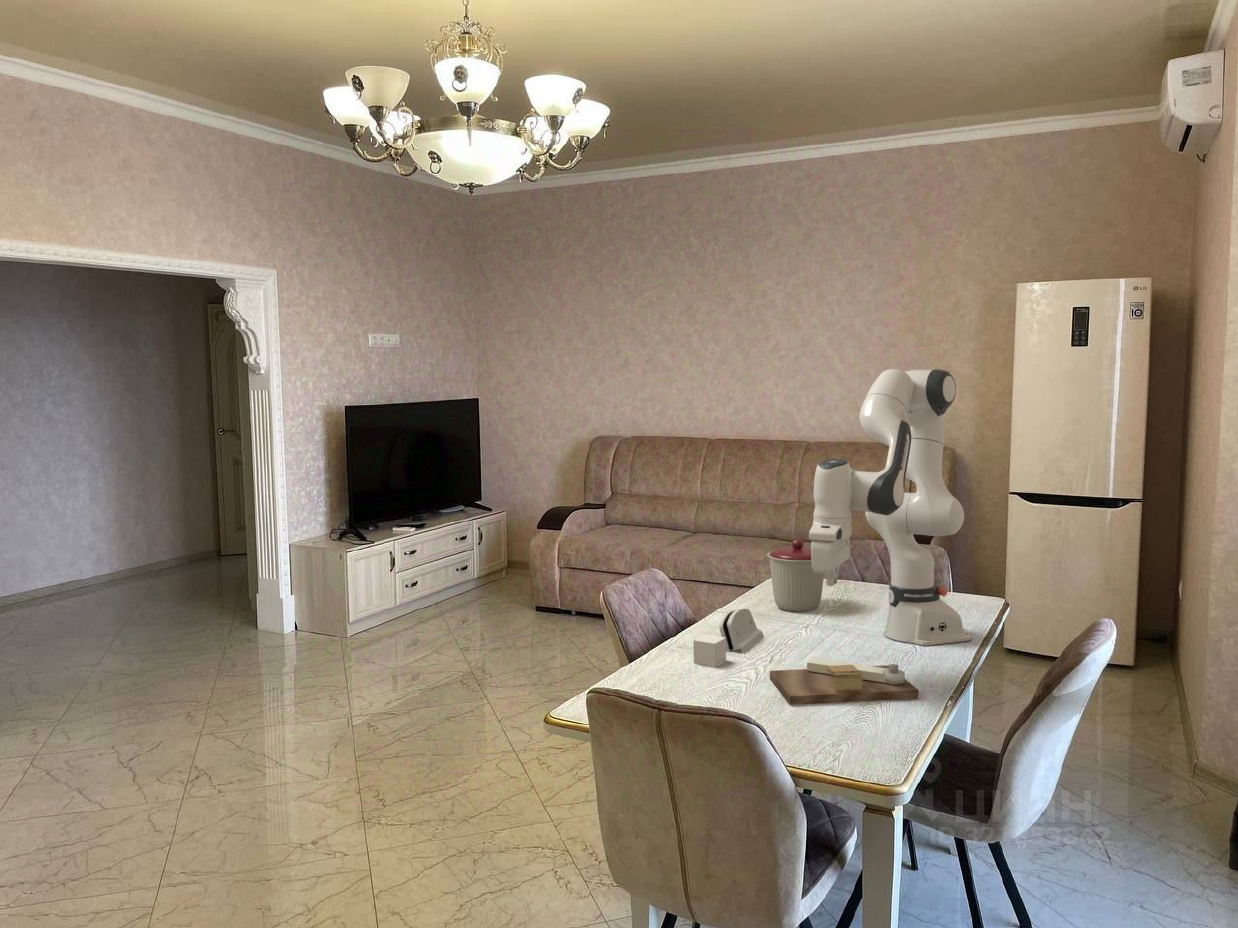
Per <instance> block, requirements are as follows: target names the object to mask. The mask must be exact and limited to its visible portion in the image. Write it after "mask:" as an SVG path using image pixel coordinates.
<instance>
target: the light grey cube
mask: <svg viewBox="0 0 1238 928" xmlns="http://www.w3.org/2000/svg"><path fill="white" fill-rule="evenodd" d="M726 661H727V652H726V638H725V637H722V636H719V635H711V634H706V633H705V634H702V635H701V636H699V637H697V638H694V640H693V664H696V665H702V666H707V667H712V668H716V667H718V666H719V665H722V664H723V663H725V662H726Z"/></svg>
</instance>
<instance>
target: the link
mask: <svg viewBox="0 0 1238 928" xmlns="http://www.w3.org/2000/svg"><path fill="white" fill-rule="evenodd" d="M836 665H854V666H855V667H856V668H857V669H858V670H859V671H860V672H861V673H862V679H864V680H871V681H877V682H884V683H888V684H893V685H899V684H903V683H904V682H905V679H906V678H905V677H906V673H905V671H903V670H900V669H899V665H898V664H896V663H895V664H894V663H890V664H888V665H889V669H887V668H880V667H873V666H874V665H866V664H858V663H853V662H852V663H851V662H844V661H838V660H831V659H825V658H818V657H811V658H810V659H809V660H808V661H807V662H806V669H807V671H813V672H819V673H826V674H830V673H829V672H828V671H827V666H836Z"/></svg>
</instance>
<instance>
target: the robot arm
mask: <svg viewBox="0 0 1238 928" xmlns="http://www.w3.org/2000/svg"><path fill="white" fill-rule="evenodd" d="M956 393H957V384H956V380H955V378H954V377H953V375H952V374H951V373H950V372H949V371H947V370H944V369H938V368H934V369H911V370H905V371H903V370H901V369H896V368H890V369H886V370H884V371H882V372H881V373H880V374H879V375H878V376H877V378H876V379H875V381H874V382H873V383H872V385H871V387H870V389H869V390H868V392H867V394H866V396H865V399H864V401H863V403H862V405H861V408H860V411H859V417H858V418H859V423H860V426H861V428H862V430H863V431H864V432H865V433H866V434H867V436H869V437H871V438H872V440H875V441H877V442H880V443H882V444H883V445H886V446H888V447H889V448H888V452H887V457H886V463H885V467H884V469H882V470H881V471H877V472H875V471H874V472H873V471H861V470H855V469H854V468H851V465H850V463H849V461H848V460H846V459H844V458H830V459H829V458H828V459H825V460H822V461H820V462H819V463H817V466H816V468H815V471H814V472H815V474H814V480H813V499H814V500H813V501H814V504H815V505H814V510H813V519H812V526H811V527H810V530H809V532H808V539H809V540H810V541H811V543H810V547H811V559H812V568H813V571H814V573H820V574H824V576H825V578H826V581H825V582H826V586H828V587H833V586H835V585H836V584H837V583H838V576H839V570H840V565H842V564H843V563H845V562H846V561H847V560H849V559H850V556H851V543H850V542H851V541H850V537H851V536H852V511H855V512H856V511H858V512H865V513H864V515H865V517H866V520H867V523H868V524H869V525H870V527H871V528H873V529H874V530H875V531H876V532H877V533H878V534H879V535H880V537H881V538H882V540H883V541H884V543H885V545H886V547H887V550H888V554H889V559H890V582H889V584H888V604H889V609H888V615H887V621H886V625H885V629H884V630H883V634H884V636H885V637H887V638H889V639H891V640H894V641H898V642H903V643H911V644H915V645H918V646H933V645H934V646H935V645H936V646H937V645H942V644H950V643H951V644H952V643H960V642H969V641H972V639H973V637H972V633H970V631H968V630H967V629H966V628H964V627H963V626H964V625H963V621H962V617H961V615H960V614H959V612H958V611H956V610H955V609H954V608H953V607H952V606H950V605H949V604H948V603H946V602H945V600H942V598H941V597H946V596H947V595H948V593H949V592H948V590H947V589H946V588H944V587H939V586H937V585H935V559H934V556H933V555H932V554H931V552H929V550H927V549H926V548H924V547H923V546H921V545H919V543H918V542H917V541H916V539H915V537H914V535H918V536H919V535H921V536H931V537H932V536H933V537H942V536H944V537H945V536H952V535H955V534H957V533H958V531H959V530H960V529H961V528H962V526H963V524H964V521H965V520H964V519H965V512H964V508H963V505H962V504H961V502H960V500H958V499H957V498H956V497H954V495H952V494H951V492H950V491H949V490H948V488H947V486H946V484H945V481H944V477H943V456H944V455H943V453H944V444H945V435H946V434H945V417H944V416H945V415H944V414H945V413H946V412H947V410H948V408H950V406H951V405H952V404H953V402H954V400H955V398H956ZM906 479H907V480H910V481H912V482H913V483H915V486H916V492H905V483H906V482H905V481H906Z"/></svg>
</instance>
